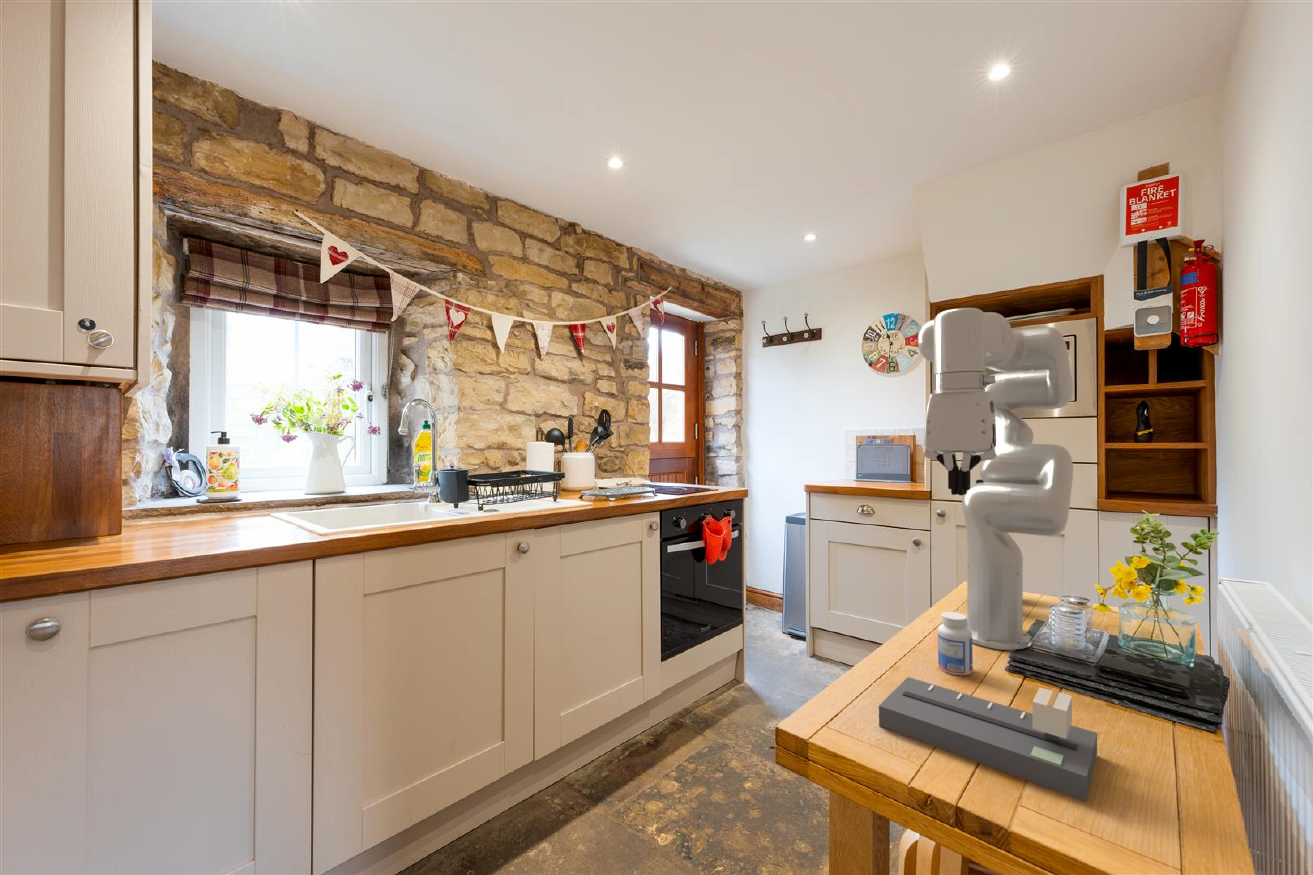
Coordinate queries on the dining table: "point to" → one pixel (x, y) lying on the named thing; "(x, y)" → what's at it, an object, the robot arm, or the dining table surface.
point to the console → (991, 736)
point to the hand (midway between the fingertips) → (959, 493)
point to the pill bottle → (955, 644)
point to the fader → (1052, 713)
